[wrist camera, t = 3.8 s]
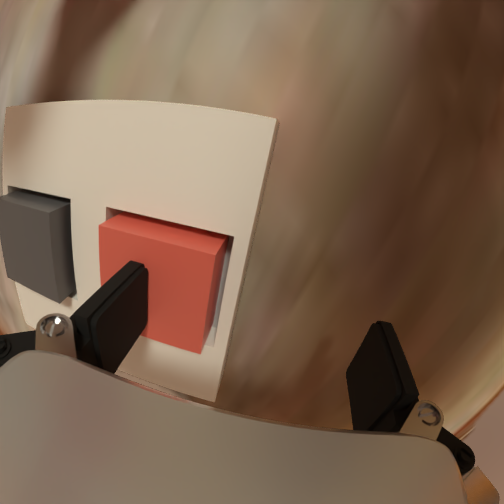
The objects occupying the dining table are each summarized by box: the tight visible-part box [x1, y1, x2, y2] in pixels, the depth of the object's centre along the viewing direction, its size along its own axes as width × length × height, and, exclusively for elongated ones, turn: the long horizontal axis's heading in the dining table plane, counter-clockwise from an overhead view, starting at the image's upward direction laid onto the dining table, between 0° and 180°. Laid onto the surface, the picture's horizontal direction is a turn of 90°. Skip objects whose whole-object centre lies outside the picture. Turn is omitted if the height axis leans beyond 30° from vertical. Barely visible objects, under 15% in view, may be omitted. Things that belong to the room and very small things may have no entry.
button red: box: [99, 211, 229, 354], centre depth 12 cm, size 5×5×2 cm
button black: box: [0, 188, 76, 304], centre depth 13 cm, size 5×5×2 cm
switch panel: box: [2, 100, 280, 402], centre depth 14 cm, size 15×15×3 cm
